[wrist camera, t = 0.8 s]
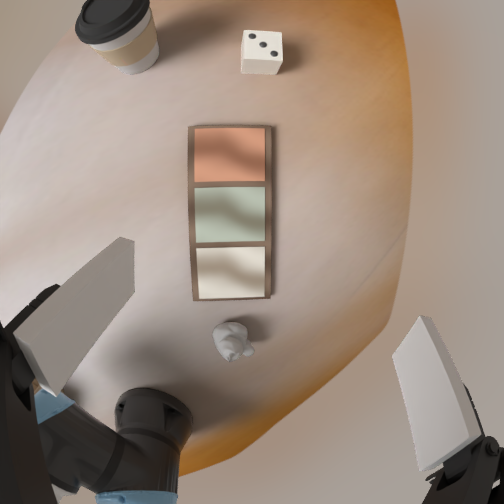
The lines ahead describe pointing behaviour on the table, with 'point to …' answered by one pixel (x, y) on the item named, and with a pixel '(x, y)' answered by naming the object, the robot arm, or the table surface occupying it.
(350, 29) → the table surface
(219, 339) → the white lumpy piece
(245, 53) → the die
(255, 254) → the game board
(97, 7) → the coffee cup
